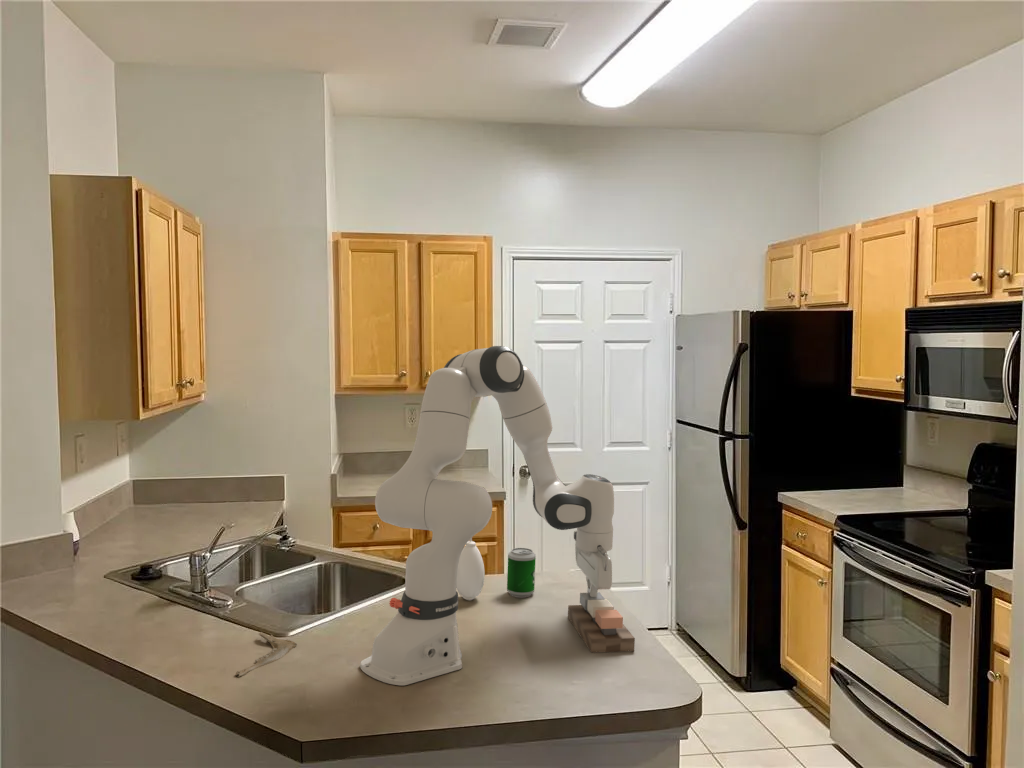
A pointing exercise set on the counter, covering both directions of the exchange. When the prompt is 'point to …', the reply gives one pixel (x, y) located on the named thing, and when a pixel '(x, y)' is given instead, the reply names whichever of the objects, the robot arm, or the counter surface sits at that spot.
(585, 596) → the slate key
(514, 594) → the soda can
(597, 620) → the terracotta key
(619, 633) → the keypad board
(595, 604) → the ivory key
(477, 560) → the sauce bottle
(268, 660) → the jawbone
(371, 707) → the counter surface
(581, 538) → the robot arm
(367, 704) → the counter surface
